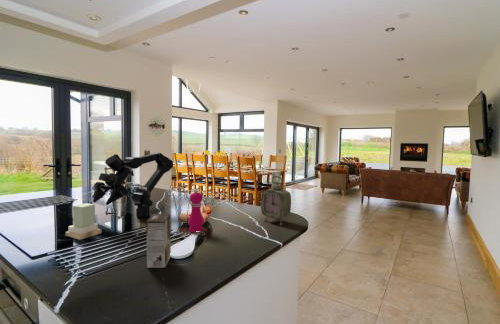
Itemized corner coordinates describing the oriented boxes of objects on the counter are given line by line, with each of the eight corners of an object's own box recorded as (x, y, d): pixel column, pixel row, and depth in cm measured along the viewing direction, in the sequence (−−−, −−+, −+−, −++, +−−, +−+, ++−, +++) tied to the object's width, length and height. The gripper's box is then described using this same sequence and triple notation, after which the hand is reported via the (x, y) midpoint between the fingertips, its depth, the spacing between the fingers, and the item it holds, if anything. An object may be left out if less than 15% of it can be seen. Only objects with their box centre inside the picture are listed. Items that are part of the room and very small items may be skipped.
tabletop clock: (260, 221, 150) (261, 175, 148) (270, 218, 156) (272, 174, 154) (282, 227, 140) (283, 178, 138) (292, 223, 146) (293, 176, 144)
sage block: (85, 222, 127) (85, 203, 127) (95, 224, 125) (94, 204, 124) (73, 225, 122) (72, 205, 121) (82, 227, 119) (82, 207, 119)
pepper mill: (206, 229, 134) (206, 188, 132) (198, 234, 127) (199, 191, 125) (193, 227, 136) (193, 187, 134) (185, 232, 129) (185, 189, 128)
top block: (84, 226, 129) (84, 221, 128) (97, 228, 126) (97, 223, 126) (68, 232, 121) (68, 226, 121) (82, 234, 118) (82, 228, 118)
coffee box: (153, 256, 101) (153, 213, 100) (171, 256, 102) (171, 213, 101) (146, 268, 92) (145, 220, 91) (165, 267, 93) (165, 220, 91)
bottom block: (87, 231, 130) (87, 225, 130) (101, 234, 126) (101, 229, 126) (65, 237, 121) (65, 231, 121) (79, 241, 117) (79, 235, 117)
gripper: (97, 165, 137) (75, 191, 128) (122, 168, 129) (101, 195, 120) (111, 179, 145) (91, 204, 136) (136, 182, 137) (117, 209, 128)
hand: (100, 203), depth 130 cm, fingers open, 9 cm apart
